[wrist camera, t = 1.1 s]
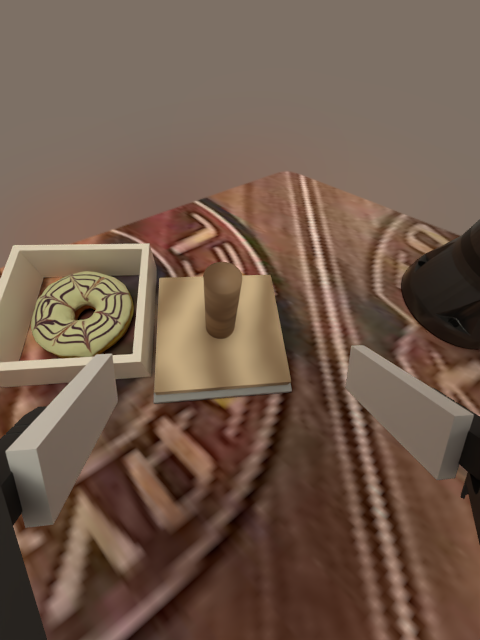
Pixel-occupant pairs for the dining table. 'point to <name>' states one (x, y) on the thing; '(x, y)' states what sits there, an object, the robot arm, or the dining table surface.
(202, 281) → the oak cover
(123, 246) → the wooden box
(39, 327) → the decorated donut
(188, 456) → the dining table surface
